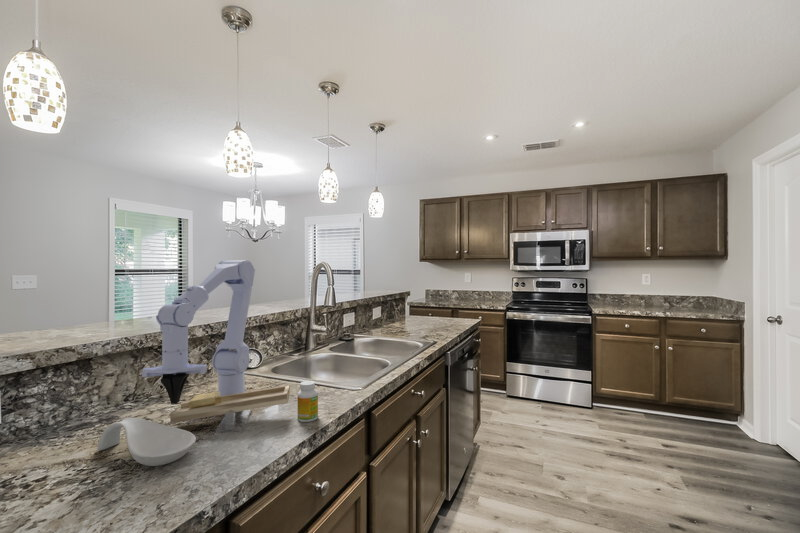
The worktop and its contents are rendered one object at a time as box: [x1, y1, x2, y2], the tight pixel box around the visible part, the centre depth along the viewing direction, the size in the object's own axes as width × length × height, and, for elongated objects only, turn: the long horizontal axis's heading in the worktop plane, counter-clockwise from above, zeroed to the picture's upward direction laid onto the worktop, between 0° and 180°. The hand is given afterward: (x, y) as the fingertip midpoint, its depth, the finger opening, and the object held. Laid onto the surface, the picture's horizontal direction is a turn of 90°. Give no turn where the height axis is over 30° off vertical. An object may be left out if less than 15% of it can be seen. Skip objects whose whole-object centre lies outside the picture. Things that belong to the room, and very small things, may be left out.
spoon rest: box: [96, 417, 197, 467], centre depth 80 cm, size 24×12×7 cm, turn 72°
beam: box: [169, 384, 291, 424], centre depth 97 cm, size 8×28×3 cm, turn 102°
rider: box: [189, 390, 221, 409], centre depth 95 cm, size 5×6×3 cm
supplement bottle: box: [297, 380, 319, 423], centre depth 99 cm, size 5×5×10 cm
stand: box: [215, 409, 252, 434], centre depth 97 cm, size 12×6×5 cm, turn 12°
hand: (175, 402), depth 94 cm, fingers closed
